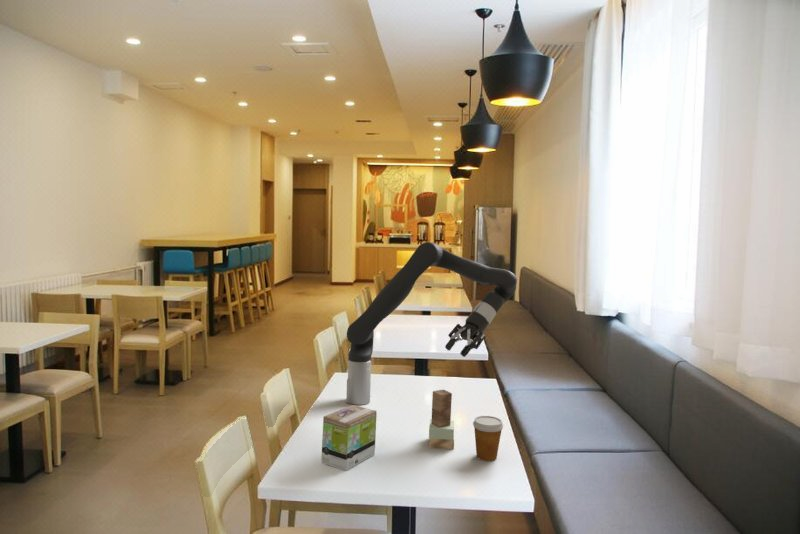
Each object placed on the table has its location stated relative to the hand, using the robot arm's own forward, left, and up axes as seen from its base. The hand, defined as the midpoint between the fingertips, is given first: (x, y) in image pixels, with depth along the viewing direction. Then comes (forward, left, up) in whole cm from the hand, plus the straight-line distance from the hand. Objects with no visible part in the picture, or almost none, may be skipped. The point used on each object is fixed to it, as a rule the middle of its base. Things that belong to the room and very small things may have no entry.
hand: (454, 352), depth 203 cm
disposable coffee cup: (+10, -22, -29) cm, 37 cm away
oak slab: (-4, -13, -29) cm, 31 cm away
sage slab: (-4, -13, -25) cm, 28 cm away
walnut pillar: (-4, -13, -22) cm, 26 cm away
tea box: (-33, -29, -29) cm, 52 cm away
